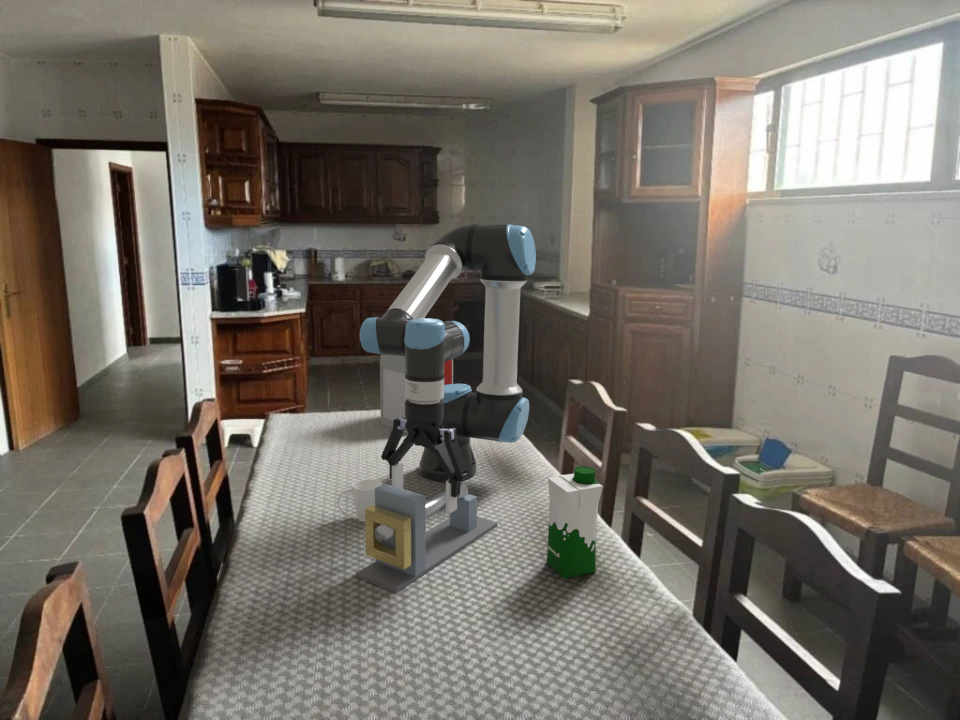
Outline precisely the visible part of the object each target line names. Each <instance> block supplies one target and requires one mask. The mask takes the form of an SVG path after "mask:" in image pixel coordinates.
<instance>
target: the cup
mask: <svg viewBox="0 0 960 720" xmlns="http://www.w3.org/2000/svg"><path fill="white" fill-rule="evenodd" d="M381 485H383V482H381V480H378V479H376V478H362V479H358V480H355V481H353V483H352V484H351V485H350V488H345V489H343V490H341V491H340V493H339V494H338V498H337V507H338V510H339V511H340V512H341V513H342V514H343V515H346V516H348V517H349V518H350V519H354V520H359V521H360V522H365V509H366V508H368V507H370V506H372V505H373V506H375V488H377V487H379V486H381ZM344 493H352V499H353V503H354V504H353V505H354V508H355V511H356V513H357V515H352V514H350V513H349V512H347V511H345V510H344V509H343V508H342V507H341V505H340V499H341V497H342V496H343V494H344Z"/></svg>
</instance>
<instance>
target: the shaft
mask: <svg viewBox="0 0 960 720" xmlns="http://www.w3.org/2000/svg"><path fill="white" fill-rule="evenodd" d="M467 494H469V489H468V486H467V485H466V484H465V483H462V482H460V495H459V496H457V501H458V500H460V499H462V498H463V497H465V496H467ZM444 509H446V490H444V491H442V492H441V493H438V494H437V495H435V496H433V497H432V498H429V499H428V500H426V519H428V518H429V517H431V516H433V515H435V514H437V513H439V512H440V511H441V510H444ZM375 536H376V538H377V540H378V541H380V542H385V541H387V540H389V539H390V538H392V537H394V536H396V529H394V528H391V527H388V526H385V525H380V526H378V527H377V528H376V529H375Z"/></svg>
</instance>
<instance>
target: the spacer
mask: <svg viewBox="0 0 960 720" xmlns="http://www.w3.org/2000/svg"><path fill="white" fill-rule="evenodd" d="M380 524H382V525H385V526H388V527H391V528H394V529H396V550H395V549H392V548H390V547H387V546H384V545H381V542H380V541H378V540H377V538H376V536H375V529H376V528H377V527H378V526H380ZM364 525H365V555H366V556H368V557H369V558H370V557H371V558H373V559H375V560H376V559H378V560H380V561H383V562H386V563H388V564H391V565H393V566H396V567H399V568H401V569H406V568H407V567H409V566H411V518H410V517H407V516H404V515H401V514H398V513H395V512H391V511H388V510H385V509H382V508H379V507H376V506H373V505H372V506H370V507H368V508H366V509H365V523H364Z"/></svg>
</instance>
